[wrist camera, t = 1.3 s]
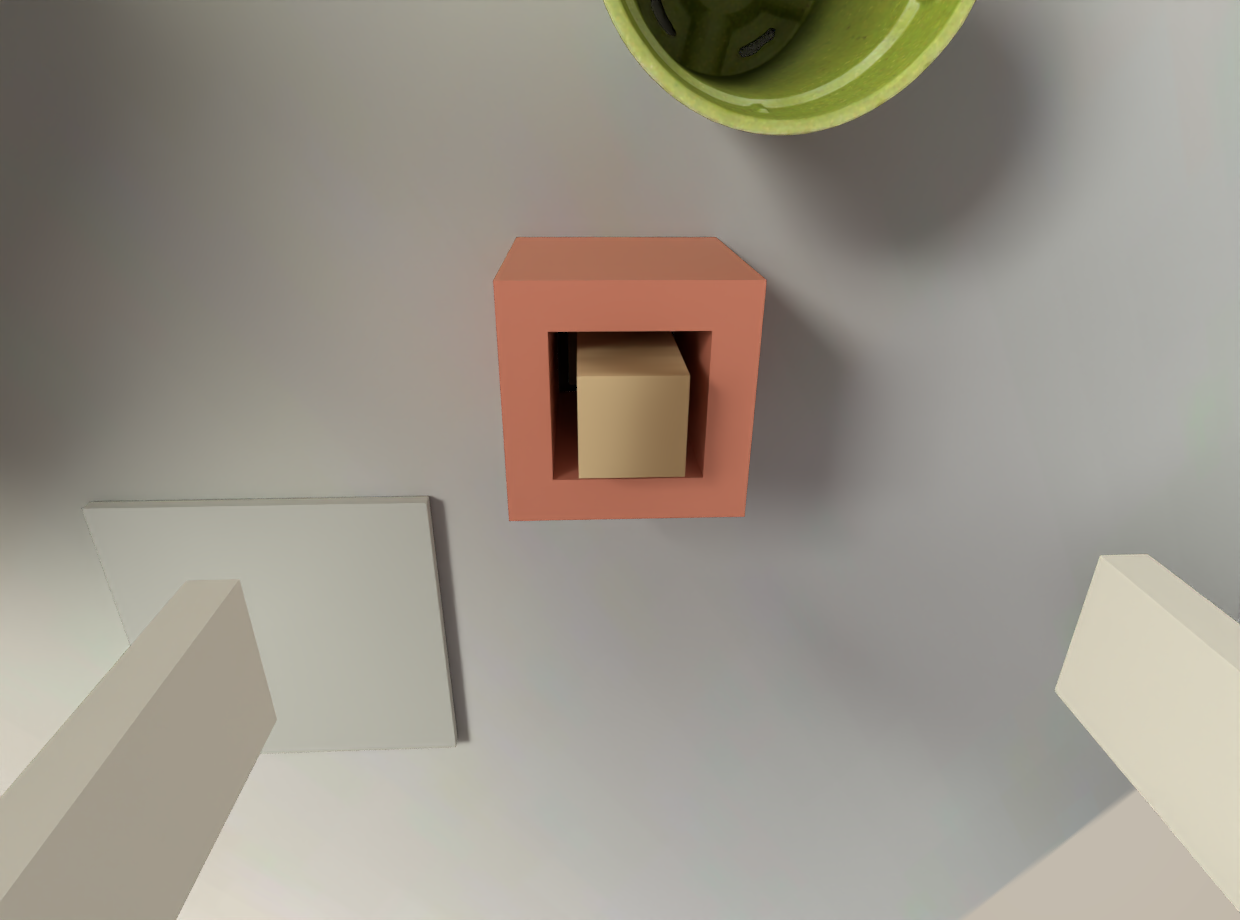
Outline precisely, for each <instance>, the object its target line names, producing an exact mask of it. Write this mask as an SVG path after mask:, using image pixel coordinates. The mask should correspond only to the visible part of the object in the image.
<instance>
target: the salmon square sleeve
mask: <svg viewBox="0 0 1240 920" xmlns="http://www.w3.org/2000/svg"><path fill="white" fill-rule="evenodd" d="M766 281H767V280H766V279H765V278H764V277H762V276H761V275H760V274H759V273H758V272H756V271H755V270H754V269H753V268H752V267H751V266H749V265H748V264H747V263H746V262H745V261H743V260H742V259H741V258H740V257H739V256H738V255H736V254H735V253H734V252H733V251H732V250H730V249H729V248H728V247H727V246H726V245H725V244H723V243H722V242H721V241H720V240H719V239H717V238H716V237H516V239H515V241H514V243H513V245H512V247H511V249H510V250H509V252H508V254H507V256H506V258H505V260H504V262H503V263H502V265H501V267H500V269H499V271H498V273H497V275H496V276H495V278H494V280H493V285H494V300H495V315H496V330H497V345H498V360H499V375H500V390H501V406H502V421H503V436H504V451H505V466H506V481H507V496H508V511H509V521H535V520H588V519H641V518H694V517H744V516H745V505H746V494H747V484H748V473H749V463H750V452H751V441H752V431H753V420H754V409H755V399H756V388H757V377H758V367H759V356H760V345H761V335H762V324H763V313H764V303H765V292H766ZM590 331H675V342H676V344H677V347H678V349H679V351H680V353H681V356H682V358H683V360H684V363H685V365H686V367H687V369H688V372H689V374H690V389H689V408H688V427H687V446H686V465H685V477H636V478H579V464H578V409H577V391H559V364H558V332H590Z"/></svg>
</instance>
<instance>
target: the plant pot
mask: <svg viewBox="0 0 1240 920" xmlns="http://www.w3.org/2000/svg"><path fill="white" fill-rule="evenodd" d="M603 1H604V4H605V6H606V9H607V11H608V13H609V15H610V18H611V20H612V22H613V24H614V26H615V28H616V29H617V31H618V33H619V35H620V37H621V38H622V40H623V42H624V43H625V45H626V46H627V48H628V49H629V51H630V52H631V54H632V55H633V56H634V58H635V59H636V60H637V61H638V63H639V64H640V65H641V67H642V68H643V69H644V70H645V71H646V72H647V73H648V74H649V76H650V77H651V78H652V79H653V80H654V81H655V82H656V83H658V84H659V85H660V86H661V87H662V88H663V89H664V90H665V91H666V92H667V93H669V94H670V95H671V96H672V97H674V98H675V99H676V100H678V101H679V102H680V103H682V104H683V105H685V106H686V107H688V108H689V109H691V110H693V111H694V112H696V113H698V114H700V115H702V116H703V117H705V118H707V119H709V120H711V121H713V122H716V123H719V124H722V125H724V126H727V127H731V128H734V129H737V130H741V131H746V132H750V133H755V134H762V135H799V134H807V133H812V132H817V131H822V130H825V129H829V128H833V127H836V126H839V125H841V124H844V123H847V122H849V121H852V120H854V119H856V118H858V117H860V116H862V115H864V114H866V113H868V112H870V111H872V110H874V109H875V108H877V107H878V106H880V105H881V104H883V103H885V102H886V101H888V100H889V99H891V98H892V97H894V96H895V95H897V94H898V93H899V92H901V91H902V90H903V89H904V88H906V87H907V86H908V85H909V84H910V83H912V82H913V81H914V80H915V79H916V78H917V77H918V76H919V75H920V74H921V73H922V72H923V71H924V70H925V69H926V68H927V67H928V66H929V65H930V64H931V63H932V62H933V61H934V60H935V59H936V58H937V57H938V56H939V55H940V53H941V52H942V51H943V50H944V48H945V47H946V46H947V45H948V44H949V42H950V41H951V40H952V38H953V37H954V36H955V34H956V33H957V32H958V30H959V29H960V28H961V26H962V25H963V23H964V21H965V20H966V18H967V16H968V14H969V12H970V10H971V8H972V6H973V4H974V3H975V1H976V0H661V2H662V5H663V7H664V10H665V13H666V15H667V17H668V19H669V21H670V22H671V24H672V27H673V28H674V29H675V31H676V35H675V36H673V35H669V34H667V33H666V31H665V30H664V29H663V28H662V27H661V25H660V24H659V23H658V21H657V19H656V17H655V15H654V12H653V10H652V7H651V0H603ZM769 28H774V29H775V36H774V38H773V39H772V40H771V41H769V42H767V43H766V44H765V45H763V46H762V47H761V48H760V50H759V51H758V52H757V53H756V54H753V55H751V56H747V57H742V56H740V55H739V49H740V48H741V47H743V46H746V45H748V44H749V43H751V42H753V41H755V40H756V39H757V38H759V37H760V36H762V35H763V34H764V33H766V32H767V30H768V29H769Z"/></svg>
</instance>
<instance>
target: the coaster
mask: <svg viewBox="0 0 1240 920" xmlns="http://www.w3.org/2000/svg"><path fill="white" fill-rule="evenodd" d="M82 512H83V515H84V518H85V520H86V523H87V526H88V529H89V532H90V534H91V537H92V540H93V543H94V546H95V548H96V551H97V554H98V557H99V560H100V563H101V565H102V568H103V571H104V574H105V577H106V579H107V582H108V585H109V588H110V591H111V594H112V596H113V599H114V602H115V605H116V608H117V610H118V613H119V616H120V619H121V622H122V625H123V627H124V630H125V633H126V636H127V639H128V641H129V644H130V646H131V644H132V643H133V642H134V641H135V640H136V639H137V637H138V636H139V635H140V634H141V633H142V632H143V630H144V629H145V628H146V627H147V626H148V625H149V623H150V622H151V621H152V620H153V619H154V618H155V616H156V615H157V614H158V613H159V612H160V611H161V609H162V608H163V607H164V606H165V605H166V604H167V602H168V601H169V600H170V599H171V598H172V597H173V595H174V594H175V593H176V592H177V591H178V590H179V588H180V587H181V586H182V585H183V584H184V583H185V581H190V580H227V579H240V583H241V587H242V590H243V594H244V598H245V602H246V605H247V609H248V613H249V616H250V620H251V624H252V628H253V631H254V635H255V639H256V643H257V646H258V650H259V654H260V657H261V661H262V665H263V669H264V672H265V676H266V680H267V684H268V687H269V691H270V695H271V698H272V702H273V706H274V710H275V713H276V717H277V721H276V723H275V725H274V727H273V729H272V731H271V733H270V735H269V737H268V739H267V741H266V743H265V745H264V747H263V749H262V751H261V753H260V754H273V753H302V752H331V751H360V750H389V749H418V748H447V747H456V744H457V739H458V737H457V728H456V720H455V711H454V703H453V695H452V686H451V678H450V669H449V661H448V653H447V644H446V636H445V627H444V619H443V611H442V602H441V594H440V585H439V577H438V569H437V560H436V552H435V543H434V535H433V526H432V518H431V510H430V501H429V496H402V497H344V498H285V499H226V500H167V501H109V502H89V503H88V504H87V505H86V506H84V507H83V508H82Z"/></svg>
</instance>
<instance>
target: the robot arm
mask: <svg viewBox="0 0 1240 920" xmlns="http://www.w3.org/2000/svg"><path fill="white" fill-rule="evenodd" d="M1055 692H1056V693H1057V695H1058V696H1059V697H1060V698H1061V699H1062V701H1063V702H1064V703H1065V704H1066V705H1067V707H1068V708H1069V709H1070V710H1071V711H1072V713H1073V714H1074V715H1075V716H1076V717H1077V719H1078V720H1079V721H1080V722H1081V723H1082V725H1083V726H1084V727H1085V728H1086V729H1087V731H1088V732H1089V733H1090V734H1091V735H1092V737H1093V738H1094V739H1095V740H1096V741H1097V743H1098V744H1099V745H1100V746H1101V747H1102V749H1103V750H1104V751H1105V752H1106V753H1107V755H1108V756H1109V757H1110V758H1111V759H1112V761H1113V762H1114V763H1115V764H1116V765H1117V767H1118V768H1119V769H1120V770H1121V771H1122V772H1123V774H1124V775H1125V776H1126V777H1127V778H1128V780H1129V781H1130V782H1131V783H1132V784H1133V786H1134V787H1135V788H1136V789H1137V790H1138V792H1139V793H1140V794H1141V795H1142V796H1143V798H1144V799H1145V800H1146V801H1147V802H1148V804H1149V805H1150V806H1151V807H1152V808H1153V809H1154V811H1155V812H1156V813H1157V814H1158V816H1159V817H1160V818H1161V819H1162V820H1163V822H1164V823H1165V824H1166V825H1167V826H1168V827H1169V829H1170V830H1171V831H1172V832H1173V834H1174V835H1175V836H1176V837H1177V838H1178V840H1179V841H1180V842H1181V843H1182V844H1183V845H1184V847H1185V848H1186V849H1187V850H1188V852H1189V853H1190V854H1191V855H1192V856H1193V857H1194V859H1195V860H1196V861H1197V862H1198V863H1199V865H1200V866H1201V867H1202V868H1203V870H1204V871H1205V872H1206V873H1207V874H1208V875H1209V877H1210V878H1211V879H1212V880H1213V882H1214V883H1215V884H1216V885H1217V886H1218V887H1219V889H1220V890H1221V891H1222V892H1223V894H1224V895H1225V896H1226V897H1227V898H1228V899H1229V901H1230V902H1231V903H1232V904H1233V906H1234V907H1235V908H1236V909H1237V910H1238V911H1239V913H1240V624H1239V623H1237V622H1236V621H1235V620H1234V619H1232V618H1231V617H1230V616H1228V615H1227V614H1226V613H1224V612H1223V611H1222V610H1220V609H1219V608H1218V607H1216V606H1215V605H1214V604H1212V603H1211V602H1210V601H1209V600H1207V599H1206V598H1205V597H1203V596H1202V595H1201V594H1199V593H1198V592H1197V591H1195V590H1194V589H1193V588H1191V587H1190V586H1189V585H1188V584H1186V583H1185V582H1184V581H1182V580H1181V579H1180V578H1178V577H1177V576H1176V575H1174V574H1173V573H1172V572H1170V571H1169V570H1168V569H1167V568H1165V567H1164V566H1163V565H1161V564H1160V563H1159V562H1157V561H1156V560H1155V559H1153V558H1152V557H1151V556H1149V555H1148V554H1129V555H1100V557H1099V560H1098V563H1097V566H1096V569H1095V572H1094V575H1093V578H1092V581H1091V584H1090V587H1089V590H1088V593H1087V596H1086V599H1085V602H1084V605H1083V608H1082V611H1081V614H1080V617H1079V620H1078V623H1077V626H1076V628H1075V631H1074V634H1073V637H1072V640H1071V643H1070V646H1069V649H1068V652H1067V655H1066V658H1065V661H1064V664H1063V667H1062V670H1061V673H1060V676H1059V679H1058V682H1057V685H1056V688H1055ZM276 721H277V717H276V713H275V710H274V706H273V702H272V698H271V695H270V691H269V687H268V684H267V680H266V676H265V672H264V669H263V665H262V661H261V657H260V654H259V650H258V646H257V643H256V639H255V635H254V631H253V628H252V624H251V620H250V616H249V613H248V609H247V605H246V602H245V598H244V594H243V590H242V587H241V583H240V579H227V580H190V581H185V583H184V584H183V585H182V586H181V587H180V588H179V590H178V591H177V592H176V593H175V594H174V595H173V597H172V598H171V599H170V600H169V601H168V602H167V604H166V605H165V606H164V607H163V608H162V609H161V611H160V612H159V613H158V614H157V615H156V616H155V618H154V619H153V620H152V621H151V622H150V623H149V625H148V626H147V627H146V628H145V629H144V630H143V632H142V633H141V634H140V635H139V636H138V637H137V639H136V640H135V641H134V642H133V643H132V644H131V646H130V647H129V648H128V649H127V650H126V651H125V653H124V654H123V655H122V656H121V657H120V659H119V660H118V661H117V662H116V663H115V664H114V666H113V667H112V668H111V669H110V670H109V671H108V673H107V674H106V675H105V676H104V677H103V678H102V680H101V681H100V682H99V683H98V684H97V685H96V687H95V688H94V689H93V690H92V691H91V692H90V694H89V695H88V696H87V697H86V698H85V699H84V701H83V702H82V703H81V704H80V705H79V706H78V708H77V709H76V710H75V711H74V712H73V713H72V715H71V716H70V717H69V718H68V719H67V720H66V722H65V723H64V724H63V725H62V726H61V727H60V729H59V730H58V731H57V732H56V733H55V734H54V736H53V737H52V738H51V739H50V740H49V741H48V743H47V744H46V745H45V746H44V747H43V748H42V750H41V751H40V752H39V753H38V754H37V755H36V757H35V758H34V759H33V760H32V761H31V763H30V764H29V765H28V766H27V767H26V768H25V770H24V771H23V772H22V773H21V774H20V775H19V777H18V778H17V779H16V780H15V781H14V782H13V784H12V785H11V786H10V787H9V788H8V789H7V791H6V792H5V793H4V794H3V795H2V796H1V798H0V920H176V919H177V917H178V915H179V913H180V911H181V909H182V907H183V905H184V903H185V901H186V899H187V897H188V895H189V893H190V891H191V889H192V887H193V885H194V883H195V881H196V879H197V877H198V875H199V873H200V871H201V869H202V867H203V865H204V863H205V861H206V859H207V857H208V856H209V854H210V852H211V850H212V848H213V846H214V844H215V842H216V840H217V838H218V836H219V834H220V832H221V830H222V828H223V826H224V824H225V822H226V820H227V818H228V816H229V814H230V812H231V810H232V808H233V806H234V804H235V802H236V800H237V798H238V796H239V794H240V792H241V790H242V788H243V786H244V784H245V782H246V780H247V778H248V776H249V774H250V772H251V770H252V768H253V766H254V764H255V762H256V760H257V758H258V756H259V755H260V753H261V751H262V749H263V747H264V745H265V743H266V741H267V739H268V737H269V735H270V733H271V731H272V729H273V727H274V725H275V723H276Z"/></svg>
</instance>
